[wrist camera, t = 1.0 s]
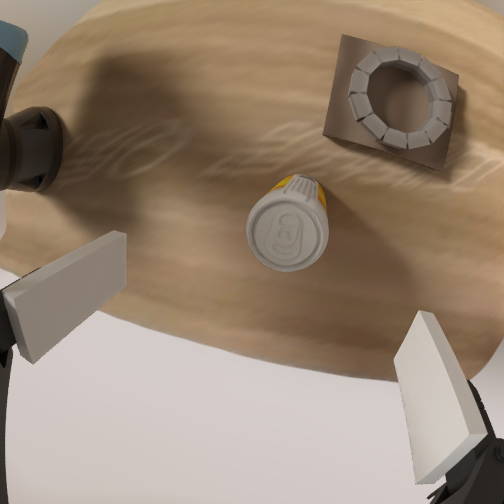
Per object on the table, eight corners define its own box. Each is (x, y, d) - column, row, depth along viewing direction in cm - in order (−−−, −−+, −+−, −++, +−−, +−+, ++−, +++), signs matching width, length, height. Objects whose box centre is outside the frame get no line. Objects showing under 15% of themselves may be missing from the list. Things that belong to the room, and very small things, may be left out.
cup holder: (322, 135, 31) (323, 132, 26) (340, 41, 27) (343, 24, 22) (434, 169, 29) (453, 174, 24) (450, 78, 25) (469, 70, 20)
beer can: (269, 218, 36) (236, 265, 22) (279, 168, 34) (250, 184, 20) (318, 230, 35) (316, 286, 21) (330, 180, 33) (338, 204, 19)
